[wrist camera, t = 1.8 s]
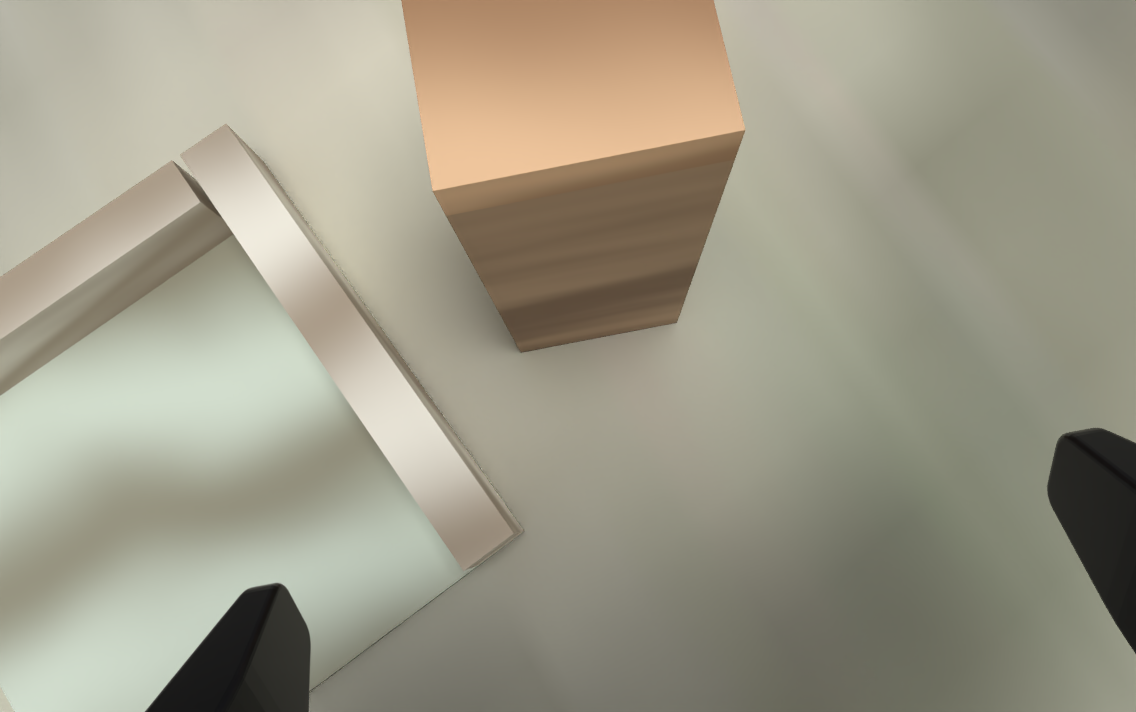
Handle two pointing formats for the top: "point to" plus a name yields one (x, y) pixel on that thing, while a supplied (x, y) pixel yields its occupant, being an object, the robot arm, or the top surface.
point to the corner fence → (210, 443)
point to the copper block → (577, 152)
